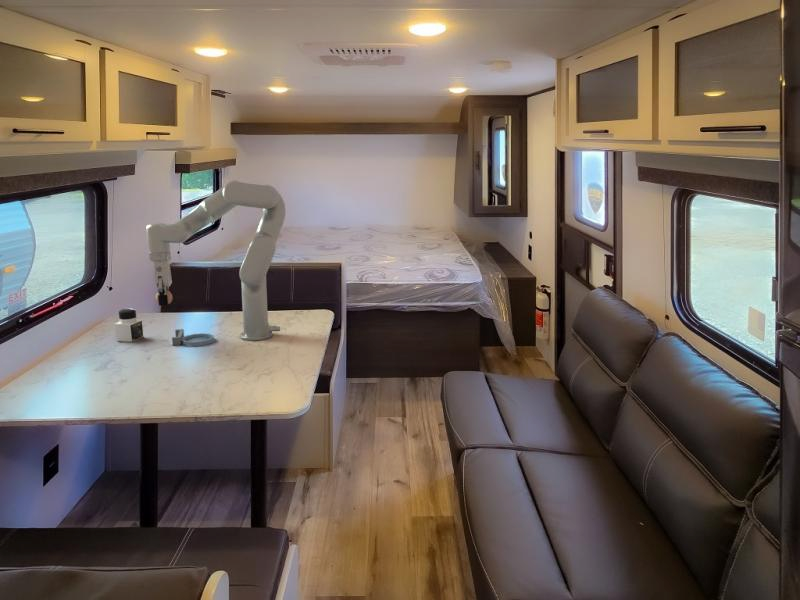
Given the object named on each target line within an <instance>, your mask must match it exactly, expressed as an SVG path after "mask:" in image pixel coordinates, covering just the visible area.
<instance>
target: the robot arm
mask: <svg viewBox="0 0 800 600" xmlns="http://www.w3.org/2000/svg"><path fill="white" fill-rule="evenodd" d="M285 205H286V204H285V201H284V199H283V196H282V195H281V193H280V192H279V191H278V190H277V189H276V188H275V187H274V186H272V185H270V184H254V183H247V182H241V181H239V180H231V181H228V182H227V183H226V184H225V185H223V186H222V187H220V188H219V189H218V190H217V191H215V192H213V193H212V194H211V195H209V196H208V197H206V198H205V199H203V200H202V201H201V202H200V203H199V204H198V205H197V206H196V207H195V208H194V209H193V210H191V211H190V212H189V213H187V214H186V215H185V216H183V217H182V218H180V219H179V220H177V221H176V222H174V223H170V224H169V223H168V224H166V223H163V222H154V223H149V224H147V225H146V228H145V229H146V239H147V247H148V248H147V249H148V257H149V258H148V259H149V262H151V263H152V265H153V267H152V268H153V278H154V285H155V287H156V288H157V293H158V301H159V304H158V306H160V307H162V306H163V307H164V306H169V304H168V297H167V295H166V290H168V291H169V292H170V293H171V291H170V288H169V287H171V285H172V283H173V280H172V271H171V266H170V265H171V264H170V261H171V260H172V255H171V246H170V245H171V243H172V244H182V243H185V242H186V241H187V240H188V239H189V238H191V237H192V236H194V235H195V234H196V233H198V232H200V230H203V228H205V227H207V226H208V225H210V224H213V223H215V222H216V221H218V220H219V219H221V218H222V217H223V216H224V215H226V214H227V213H229V212H230V211H231V210H233V209H234V208H235V207H237V206H239V207H240V206H241V207H248V208H256V209H262V215H261V216H260V217H261V218H260V220H259V223H258V226H257V228H256V231H255V233H254V234H253V236H252V238H251V240H250V243H249V246H248V248H247V251H246V253H245V255H244V258H243V262H242V263H241V265H240V268H239V273H238V275H239V279H240V281H241V282H240V284H241V302H242V303H241V305H242V307H241V309H242V320H243V323H242V324H243V331H242V332H240V334H239V338H241V339H242V340H244V341H245V340H246V341H262V340H267V339H270V338H271V337H272V336H273V335H274V334H273V332H281V326H279V325H278V326H277V325H270V323H269V315H268V313H269V312H268V293H267V291H268V290H267V273H268V271H269V268H270V266H271V263H272V260H273V259H274V256H275V253H276V250H277V249H276V248H277V241H278V238H279V236H280V234H281V231H282V227H283V225H284V222H285V219H286V206H285Z"/></svg>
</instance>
